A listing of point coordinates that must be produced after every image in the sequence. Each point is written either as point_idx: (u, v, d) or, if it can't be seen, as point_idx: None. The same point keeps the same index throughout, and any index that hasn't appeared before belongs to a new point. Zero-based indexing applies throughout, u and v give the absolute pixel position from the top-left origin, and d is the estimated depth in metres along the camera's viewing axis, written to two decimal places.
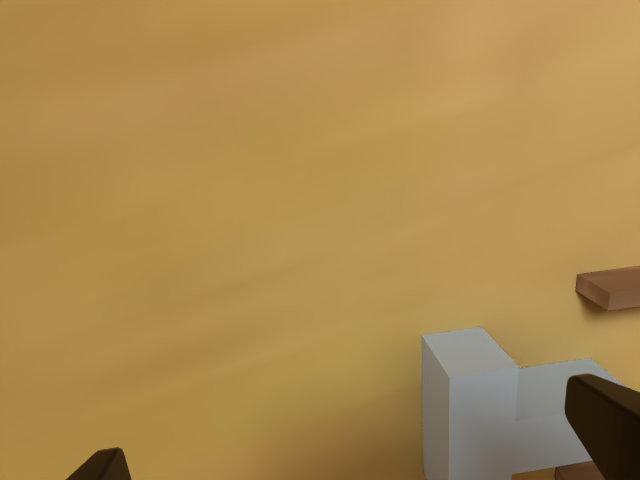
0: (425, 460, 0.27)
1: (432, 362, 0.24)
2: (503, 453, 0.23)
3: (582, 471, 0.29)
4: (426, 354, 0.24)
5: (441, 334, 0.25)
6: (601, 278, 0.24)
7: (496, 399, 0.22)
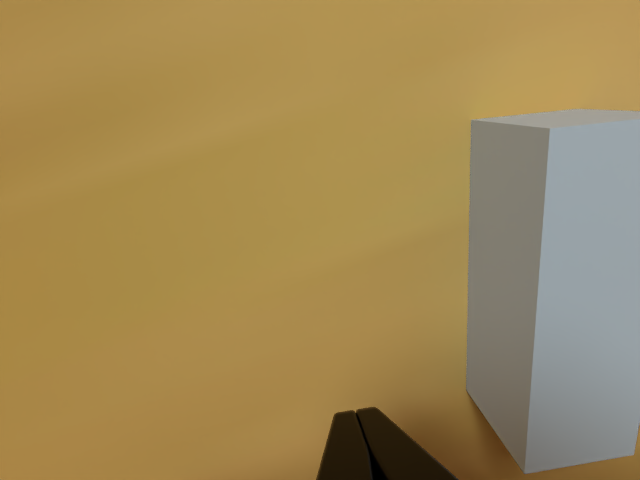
0: (471, 365, 0.16)
1: (496, 147, 0.12)
2: (639, 316, 0.12)
3: None
4: (482, 147, 0.13)
5: (509, 116, 0.14)
6: None
7: (639, 190, 0.11)
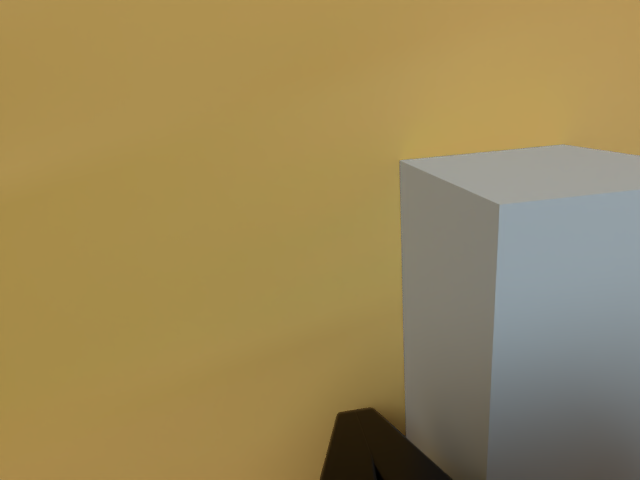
0: None
1: (428, 212, 0.08)
2: None
3: None
4: (412, 206, 0.08)
5: (457, 157, 0.09)
6: None
7: None
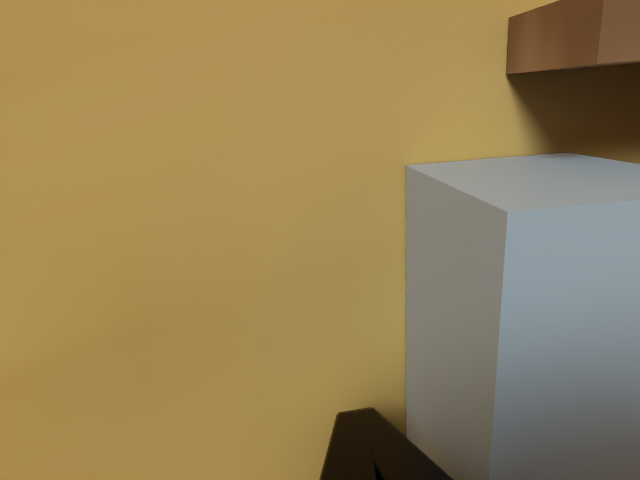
0: None
1: (434, 217, 0.08)
2: None
3: None
4: (418, 211, 0.08)
5: (462, 163, 0.09)
6: None
7: None
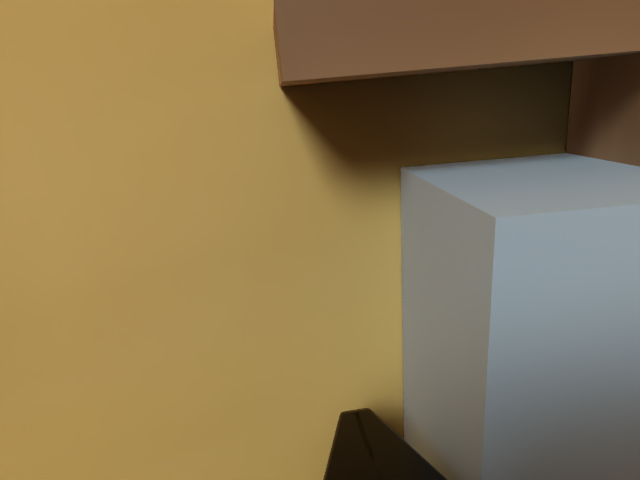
0: None
1: (428, 220, 0.08)
2: None
3: None
4: (412, 213, 0.08)
5: (458, 164, 0.09)
6: None
7: None
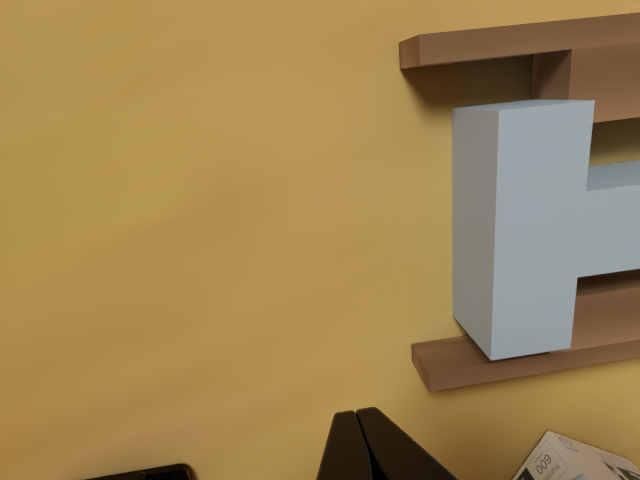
0: (455, 294, 0.21)
1: (469, 126, 0.18)
2: (567, 242, 0.17)
3: (443, 346, 0.22)
4: (460, 127, 0.18)
5: (479, 105, 0.19)
6: None
7: (562, 152, 0.16)
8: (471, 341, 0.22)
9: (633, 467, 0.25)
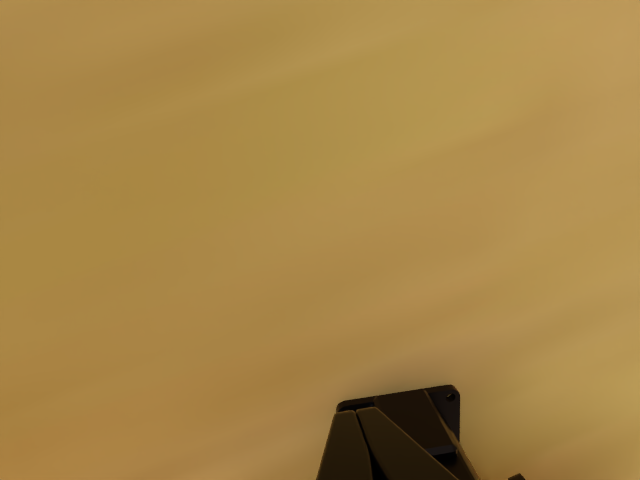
0: None
1: None
2: None
3: None
4: None
5: None
6: None
7: None
8: None
9: None
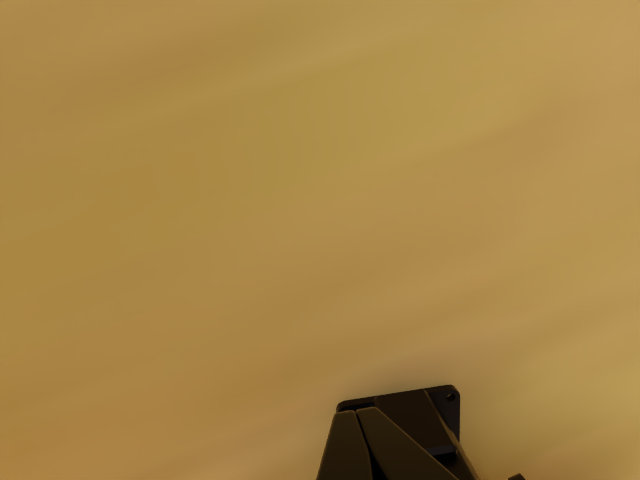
0: None
1: None
2: None
3: None
4: None
5: None
6: None
7: None
8: None
9: None
